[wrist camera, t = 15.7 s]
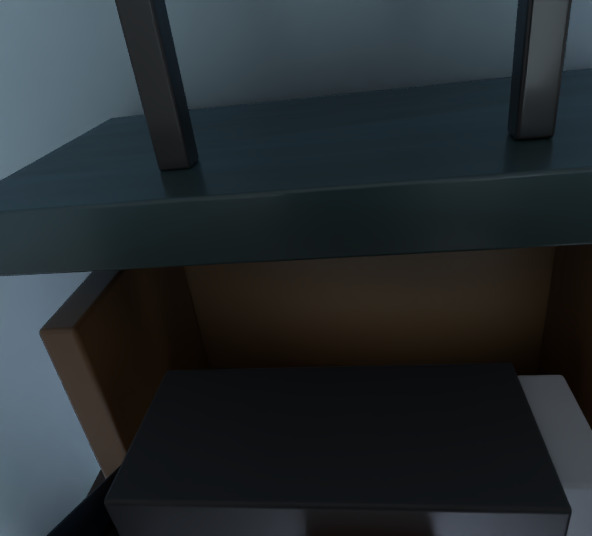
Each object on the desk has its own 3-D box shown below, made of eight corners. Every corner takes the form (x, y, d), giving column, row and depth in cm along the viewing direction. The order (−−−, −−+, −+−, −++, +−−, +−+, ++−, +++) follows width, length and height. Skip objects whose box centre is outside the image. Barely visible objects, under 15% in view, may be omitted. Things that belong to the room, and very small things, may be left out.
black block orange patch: (195, 462, 11) (139, 630, 8) (166, 368, 9) (86, 529, 7) (544, 465, 10) (618, 658, 7) (563, 359, 8) (664, 544, 6)
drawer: (47, -95, 12) (-265, -169, 6) (681, -207, 10) (1179, -491, 4) (212, 466, 21) (157, 653, 15) (552, 469, 19) (638, 687, 13)
